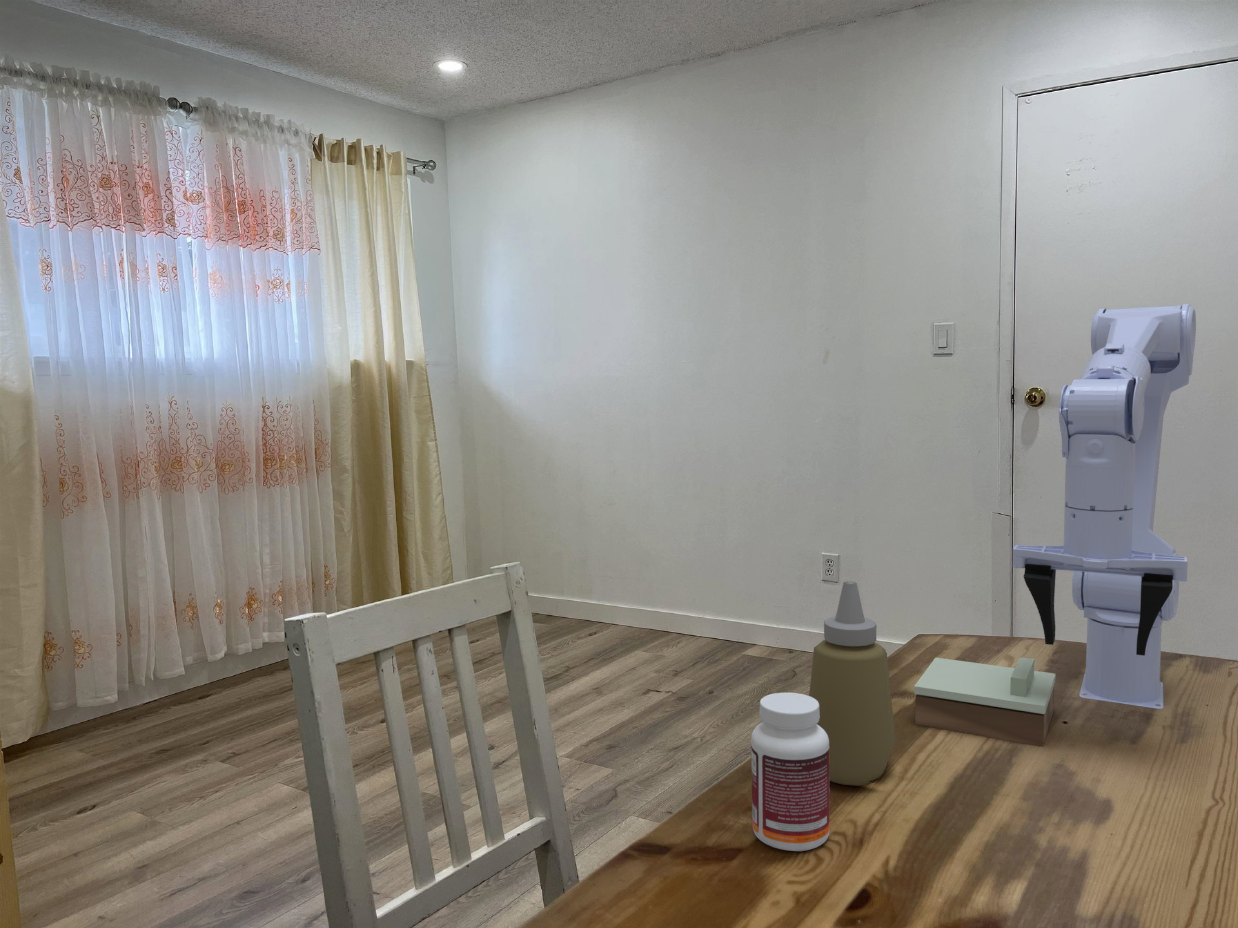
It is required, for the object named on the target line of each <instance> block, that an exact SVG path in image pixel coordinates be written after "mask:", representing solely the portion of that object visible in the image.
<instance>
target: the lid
mask: <svg viewBox="0 0 1238 928" xmlns="http://www.w3.org/2000/svg"><path fill="white" fill-rule="evenodd" d="M1056 675H1057V674H1056V673H1053V672H1046V671H1037V670H1035V658H1028V657H1019V658H1018V661H1017V663H1016V665H1015V667H1007V666H1002V665H994V664H987V663H980V662H979V663H978V662H972V661H964V660H956V659H951V658H941V657H934V659H933V660H932V662H931V663H930V665H929V666H928V667H927V668H926V669H925V671H924V672H923V674H922V675H921V677H920V678H919V679H918V681H917V682H916V683H915V684H914V686H913V694H914V695H917V694H919V695H925V696H932V697H938V698H944V699H951V700H957V701H964V702H970V703H976V704H983V705H989V706H996V707H1002V708H1008V709H1015V710H1021V711H1028V712H1034V713H1040V714H1045V712H1046V709H1047V706H1048V703H1049V699H1050V696H1051V693H1052V690H1053V687H1054V688H1055V683H1056Z"/></svg>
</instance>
